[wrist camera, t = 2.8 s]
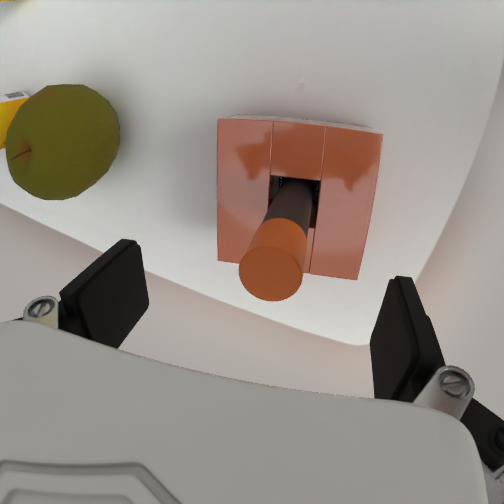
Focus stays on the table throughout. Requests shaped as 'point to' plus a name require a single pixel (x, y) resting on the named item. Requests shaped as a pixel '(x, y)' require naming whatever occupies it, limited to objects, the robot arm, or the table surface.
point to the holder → (304, 167)
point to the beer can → (9, 111)
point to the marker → (279, 244)
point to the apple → (61, 141)
